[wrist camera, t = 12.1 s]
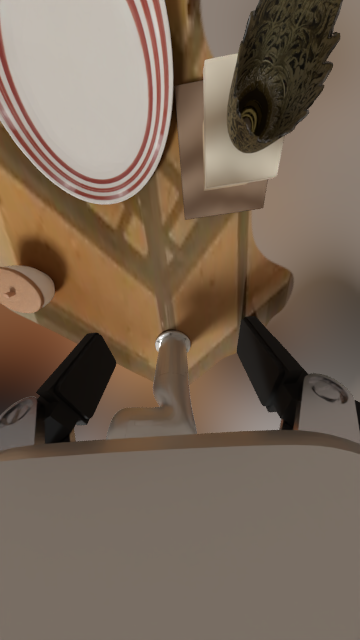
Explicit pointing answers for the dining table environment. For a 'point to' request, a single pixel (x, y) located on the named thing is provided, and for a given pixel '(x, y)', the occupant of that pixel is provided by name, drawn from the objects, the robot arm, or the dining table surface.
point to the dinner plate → (88, 91)
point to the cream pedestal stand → (218, 148)
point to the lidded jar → (25, 288)
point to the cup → (280, 69)
